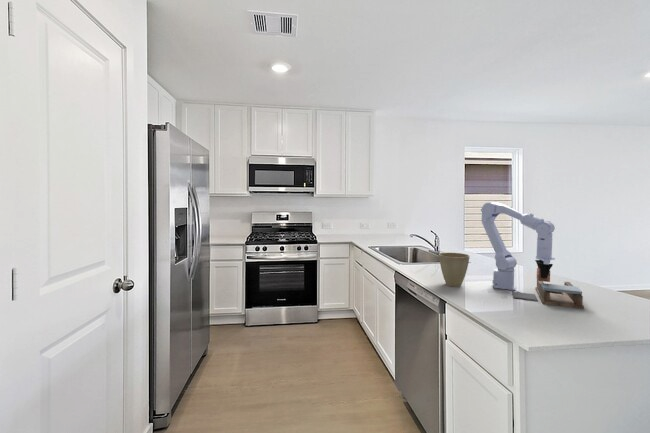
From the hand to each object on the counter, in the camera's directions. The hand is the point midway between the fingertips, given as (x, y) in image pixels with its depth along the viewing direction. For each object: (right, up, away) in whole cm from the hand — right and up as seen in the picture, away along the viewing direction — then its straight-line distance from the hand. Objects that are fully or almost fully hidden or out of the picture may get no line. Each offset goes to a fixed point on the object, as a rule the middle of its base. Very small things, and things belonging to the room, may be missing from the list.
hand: (543, 276), depth 145 cm
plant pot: (-34, -8, +19) cm, 40 cm away
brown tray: (+4, -9, -3) cm, 10 cm away
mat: (-9, -9, -1) cm, 13 cm away
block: (0, -2, 0) cm, 2 cm away
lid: (+1, -4, -9) cm, 10 cm away
